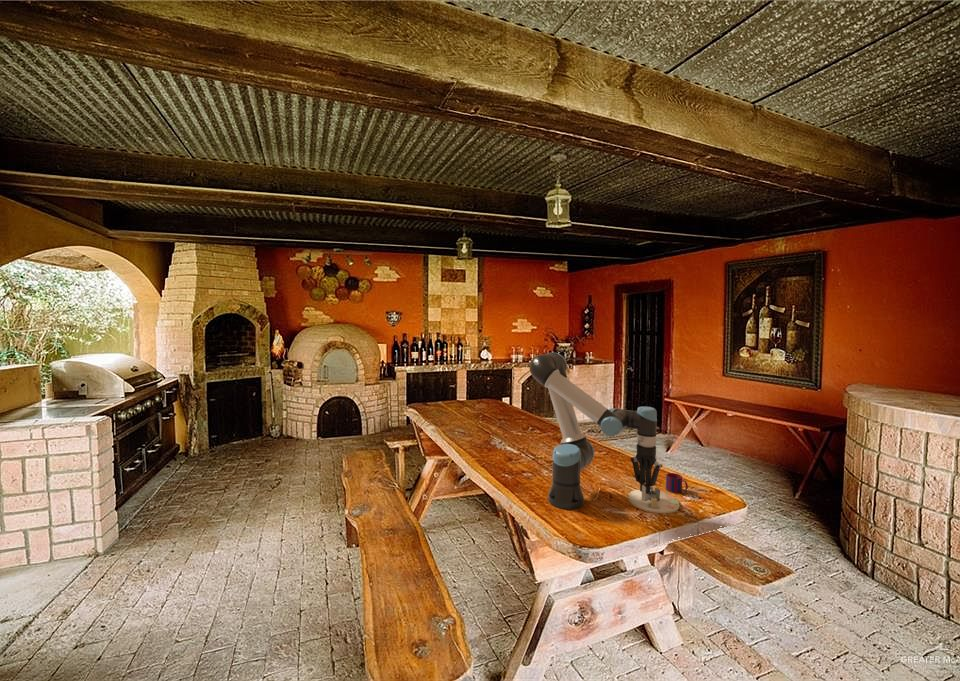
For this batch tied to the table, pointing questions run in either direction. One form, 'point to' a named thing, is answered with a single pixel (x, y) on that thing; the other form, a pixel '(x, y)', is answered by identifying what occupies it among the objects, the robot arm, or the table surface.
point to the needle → (654, 496)
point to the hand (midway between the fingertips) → (644, 500)
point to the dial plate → (663, 505)
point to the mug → (674, 483)
